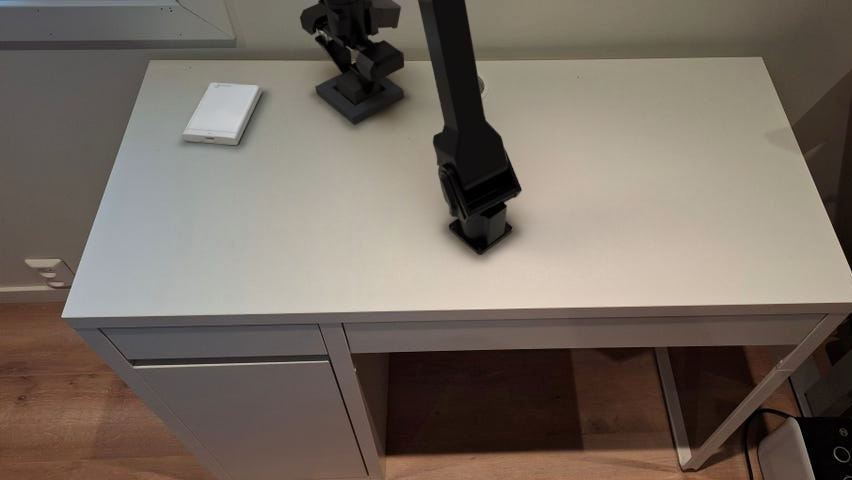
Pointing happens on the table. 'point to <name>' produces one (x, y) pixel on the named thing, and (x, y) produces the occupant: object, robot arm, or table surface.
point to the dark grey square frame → (366, 108)
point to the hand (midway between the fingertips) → (358, 85)
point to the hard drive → (222, 114)
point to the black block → (354, 87)
